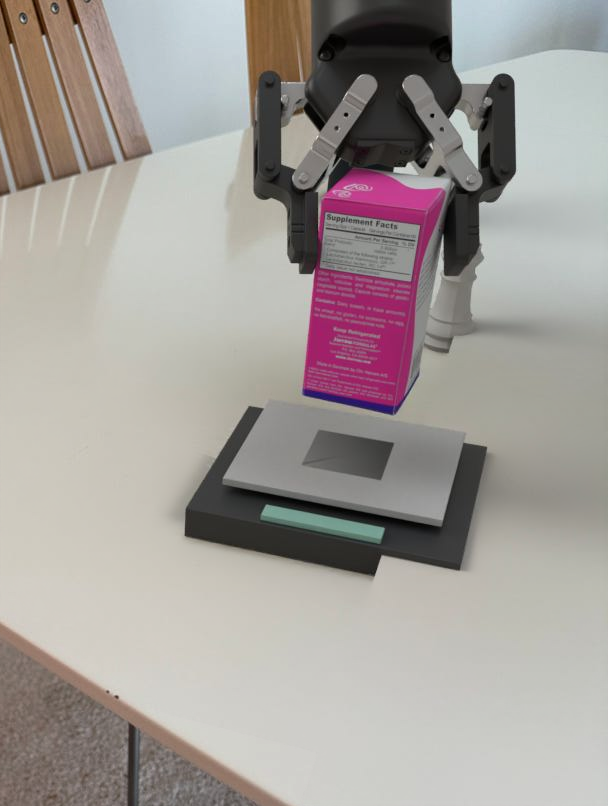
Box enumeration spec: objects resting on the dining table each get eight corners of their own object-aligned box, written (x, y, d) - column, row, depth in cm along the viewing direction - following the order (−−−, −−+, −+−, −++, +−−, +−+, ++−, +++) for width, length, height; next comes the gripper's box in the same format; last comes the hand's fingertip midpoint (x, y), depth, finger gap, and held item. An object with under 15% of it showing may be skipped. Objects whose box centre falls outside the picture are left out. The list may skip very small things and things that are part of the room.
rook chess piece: (474, 356, 83) (498, 255, 77) (417, 352, 83) (436, 251, 78) (470, 334, 86) (492, 235, 81) (415, 329, 87) (433, 231, 81)
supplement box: (326, 357, 65) (353, 163, 58) (420, 377, 63) (460, 178, 56) (295, 396, 61) (320, 192, 54) (395, 418, 59) (435, 209, 52)
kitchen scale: (480, 473, 69) (491, 432, 67) (453, 592, 59) (464, 549, 57) (246, 431, 73) (249, 391, 71) (184, 536, 63) (185, 493, 61)
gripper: (258, -72, 54) (258, 235, 52) (536, -69, 54) (543, 238, 52) (242, 26, 61) (242, 297, 60) (486, 29, 61) (492, 300, 60)
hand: (382, 269), depth 56 cm, fingers closed on supplement box, 7 cm apart
